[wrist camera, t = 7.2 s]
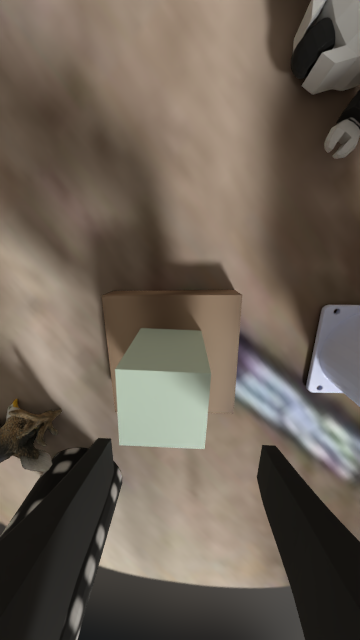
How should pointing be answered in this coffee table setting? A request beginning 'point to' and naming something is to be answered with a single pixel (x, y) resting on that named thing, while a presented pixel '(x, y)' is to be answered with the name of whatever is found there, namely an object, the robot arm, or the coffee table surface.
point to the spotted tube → (91, 561)
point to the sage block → (164, 390)
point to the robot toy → (331, 62)
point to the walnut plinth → (180, 314)
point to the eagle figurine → (26, 437)
